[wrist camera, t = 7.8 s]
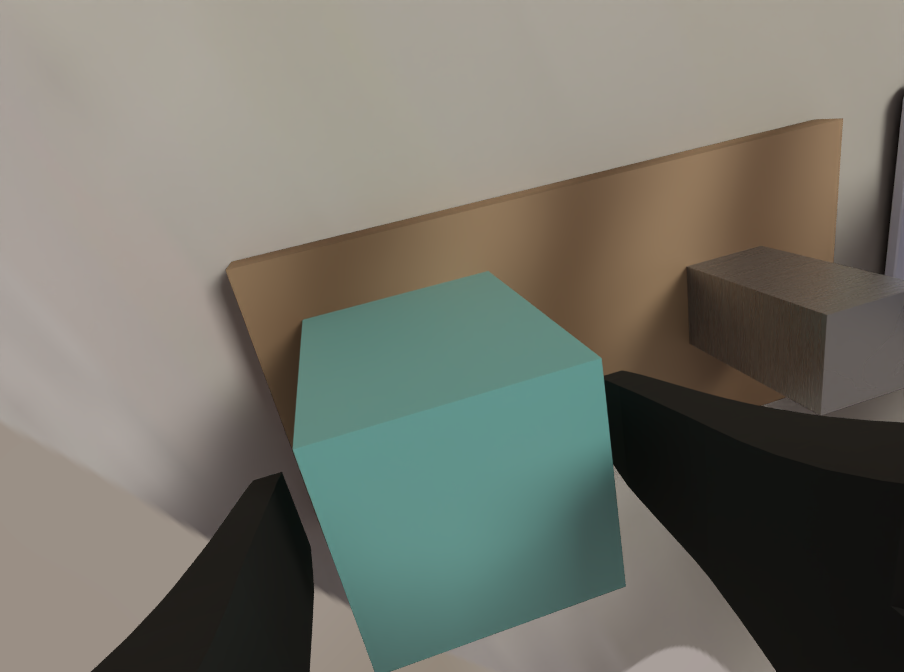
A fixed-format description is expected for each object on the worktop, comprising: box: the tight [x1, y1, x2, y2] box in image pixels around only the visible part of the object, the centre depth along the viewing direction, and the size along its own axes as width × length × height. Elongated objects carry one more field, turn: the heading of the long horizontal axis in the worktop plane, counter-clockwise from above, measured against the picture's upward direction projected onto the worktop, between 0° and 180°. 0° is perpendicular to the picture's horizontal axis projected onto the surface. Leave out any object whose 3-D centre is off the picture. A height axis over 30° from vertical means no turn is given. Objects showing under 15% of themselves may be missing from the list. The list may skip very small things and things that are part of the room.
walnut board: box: [226, 118, 843, 546], centre depth 17 cm, size 18×9×1 cm, turn 101°
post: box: [686, 246, 904, 416], centre depth 15 cm, size 3×3×5 cm
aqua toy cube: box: [293, 271, 626, 672], centre depth 13 cm, size 5×5×7 cm
